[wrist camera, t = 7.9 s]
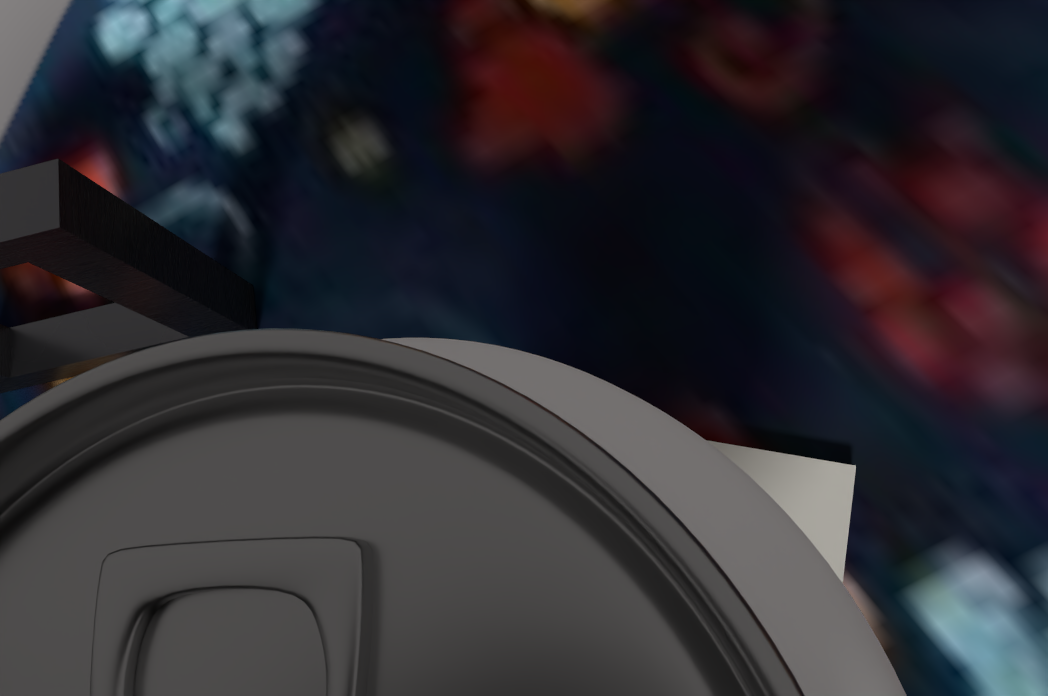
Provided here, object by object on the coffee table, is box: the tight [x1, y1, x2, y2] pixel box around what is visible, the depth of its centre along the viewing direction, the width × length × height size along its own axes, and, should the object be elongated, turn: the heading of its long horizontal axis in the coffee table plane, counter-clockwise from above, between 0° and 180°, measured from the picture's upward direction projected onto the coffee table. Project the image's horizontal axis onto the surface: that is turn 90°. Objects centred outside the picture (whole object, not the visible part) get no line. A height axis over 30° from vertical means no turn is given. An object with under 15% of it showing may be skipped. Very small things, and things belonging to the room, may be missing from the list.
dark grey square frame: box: [0, 159, 257, 393], centre depth 21 cm, size 2×8×8 cm, turn 100°
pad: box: [706, 440, 856, 583], centre depth 20 cm, size 10×10×1 cm
